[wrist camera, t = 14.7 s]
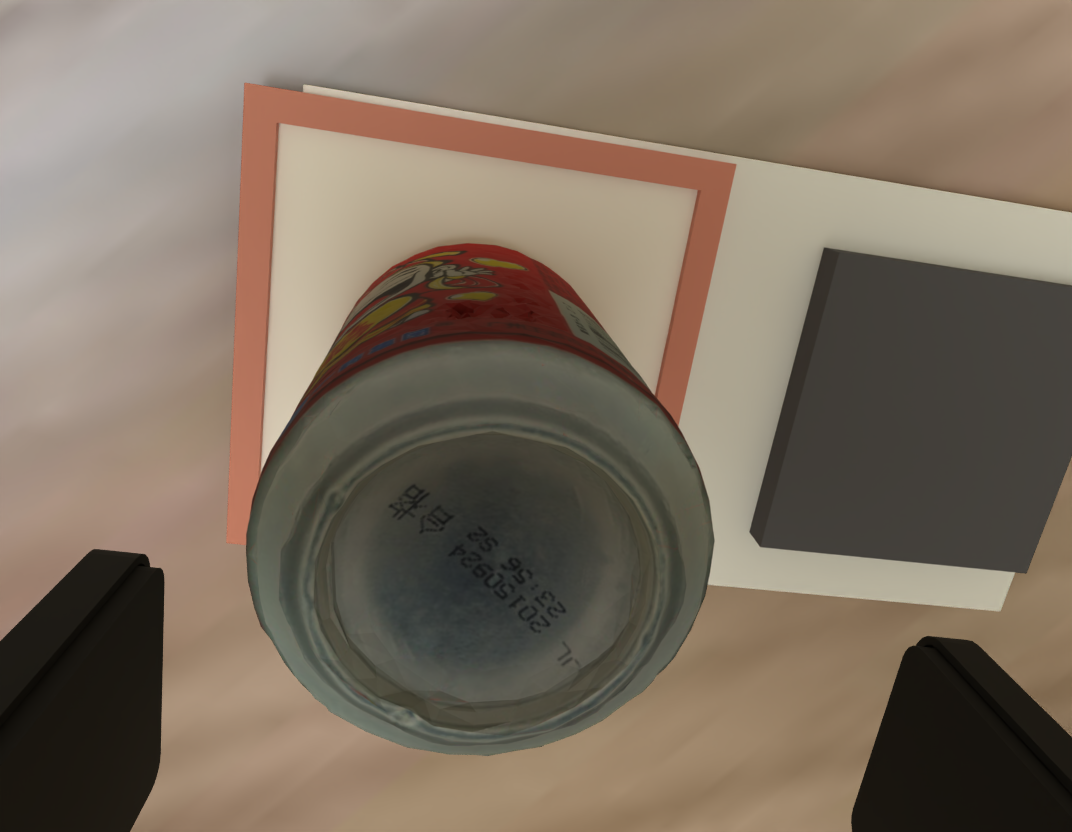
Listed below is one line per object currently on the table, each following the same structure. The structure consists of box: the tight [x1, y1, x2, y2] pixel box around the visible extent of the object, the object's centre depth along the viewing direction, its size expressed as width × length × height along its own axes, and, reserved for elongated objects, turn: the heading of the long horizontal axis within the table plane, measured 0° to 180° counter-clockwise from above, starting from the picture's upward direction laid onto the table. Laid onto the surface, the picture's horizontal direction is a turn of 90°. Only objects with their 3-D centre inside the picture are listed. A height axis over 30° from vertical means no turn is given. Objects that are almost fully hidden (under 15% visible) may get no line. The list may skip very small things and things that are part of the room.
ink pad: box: [749, 247, 1072, 573], centre depth 25 cm, size 9×9×1 cm
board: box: [303, 84, 1072, 611], centre depth 25 cm, size 24×13×1 cm, turn 81°
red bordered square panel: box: [226, 83, 737, 545], centre depth 23 cm, size 13×13×1 cm
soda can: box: [246, 243, 715, 756], centre depth 17 cm, size 7×7×12 cm
